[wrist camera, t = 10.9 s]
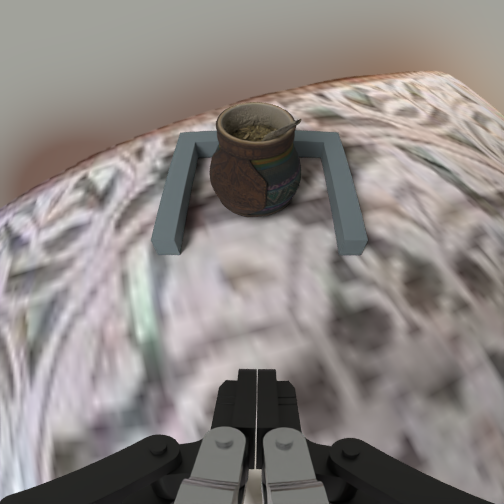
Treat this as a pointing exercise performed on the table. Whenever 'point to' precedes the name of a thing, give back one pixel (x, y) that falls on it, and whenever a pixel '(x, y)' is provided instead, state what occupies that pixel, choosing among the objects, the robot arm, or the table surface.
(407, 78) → the table surface
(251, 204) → the mate gourd
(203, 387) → the table surface
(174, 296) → the table surface
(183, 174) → the frame
